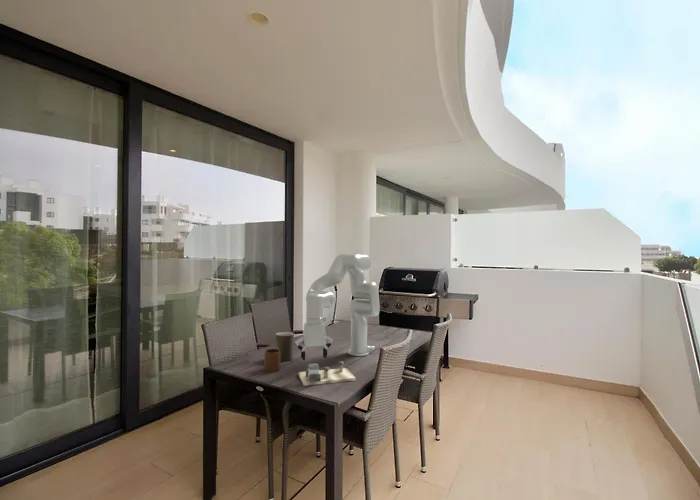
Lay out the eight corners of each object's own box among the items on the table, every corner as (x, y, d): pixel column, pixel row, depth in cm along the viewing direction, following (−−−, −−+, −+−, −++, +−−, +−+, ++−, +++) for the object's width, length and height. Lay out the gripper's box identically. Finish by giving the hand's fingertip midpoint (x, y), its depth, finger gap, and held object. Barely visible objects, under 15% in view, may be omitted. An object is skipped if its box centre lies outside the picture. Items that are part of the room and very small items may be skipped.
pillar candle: (289, 362, 180) (290, 333, 180) (271, 360, 182) (272, 332, 182) (295, 357, 190) (296, 330, 190) (279, 355, 192) (280, 328, 192)
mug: (270, 364, 177) (271, 345, 177) (284, 365, 176) (285, 346, 176) (261, 372, 165) (262, 352, 165) (277, 373, 164) (277, 353, 164)
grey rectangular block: (316, 376, 157) (317, 363, 157) (318, 379, 153) (319, 366, 153) (308, 377, 156) (308, 364, 156) (309, 380, 152) (310, 367, 152)
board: (346, 370, 170) (346, 359, 170) (355, 380, 157) (355, 368, 157) (298, 374, 162) (298, 362, 162) (303, 385, 149) (304, 372, 149)
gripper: (330, 318, 161) (330, 354, 161) (294, 320, 156) (293, 357, 156) (335, 321, 154) (334, 359, 154) (296, 323, 149) (296, 363, 149)
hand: (314, 358), depth 155 cm, fingers open, 9 cm apart
